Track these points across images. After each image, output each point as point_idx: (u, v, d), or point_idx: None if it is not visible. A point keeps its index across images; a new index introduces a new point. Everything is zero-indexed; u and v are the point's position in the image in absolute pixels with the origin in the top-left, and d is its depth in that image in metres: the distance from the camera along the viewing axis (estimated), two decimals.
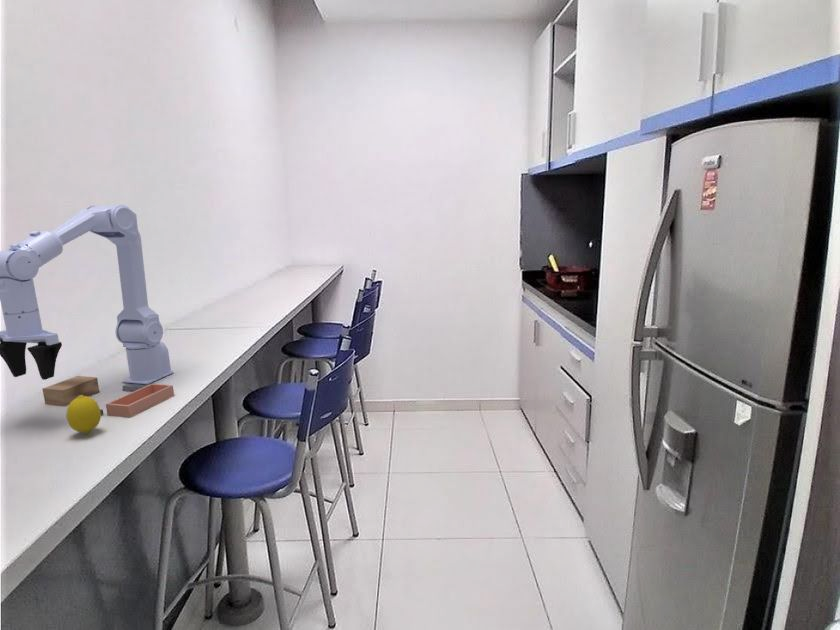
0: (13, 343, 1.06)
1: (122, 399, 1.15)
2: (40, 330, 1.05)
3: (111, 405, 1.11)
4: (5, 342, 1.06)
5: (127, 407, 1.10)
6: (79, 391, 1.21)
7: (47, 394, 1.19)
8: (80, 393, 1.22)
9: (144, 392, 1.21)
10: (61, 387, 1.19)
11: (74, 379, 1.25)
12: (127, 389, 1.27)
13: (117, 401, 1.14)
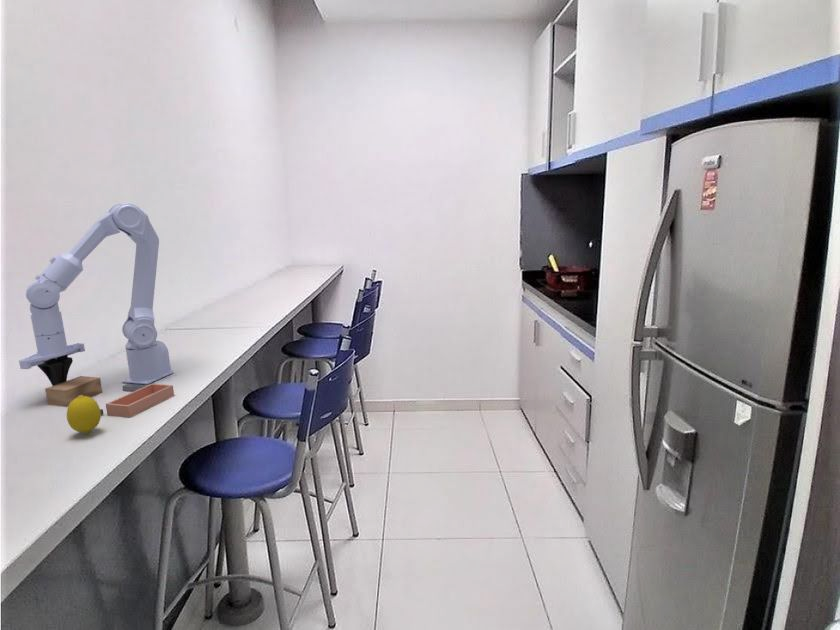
0: None
1: (122, 399, 1.15)
2: (46, 353, 1.19)
3: (111, 405, 1.11)
4: None
5: (127, 407, 1.10)
6: (82, 391, 1.21)
7: (50, 394, 1.19)
8: (83, 393, 1.21)
9: (144, 392, 1.21)
10: (64, 387, 1.19)
11: (77, 379, 1.25)
12: (127, 389, 1.27)
13: (117, 401, 1.14)
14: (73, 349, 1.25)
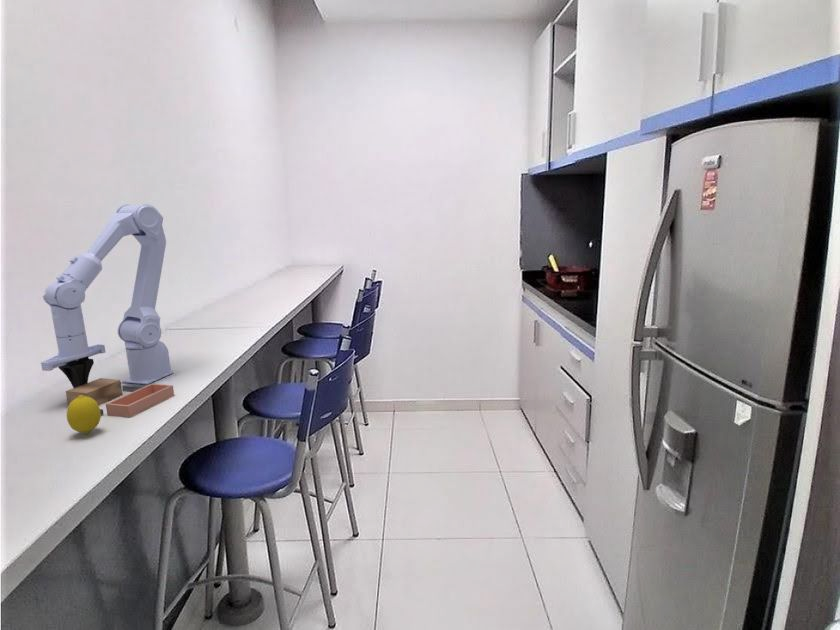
0: None
1: (122, 399, 1.15)
2: (67, 354, 1.17)
3: (111, 405, 1.11)
4: None
5: (127, 407, 1.10)
6: (103, 394, 1.19)
7: (71, 396, 1.17)
8: (103, 396, 1.19)
9: (144, 392, 1.21)
10: (85, 390, 1.17)
11: (97, 381, 1.22)
12: (127, 389, 1.27)
13: (117, 401, 1.14)
14: (94, 350, 1.23)
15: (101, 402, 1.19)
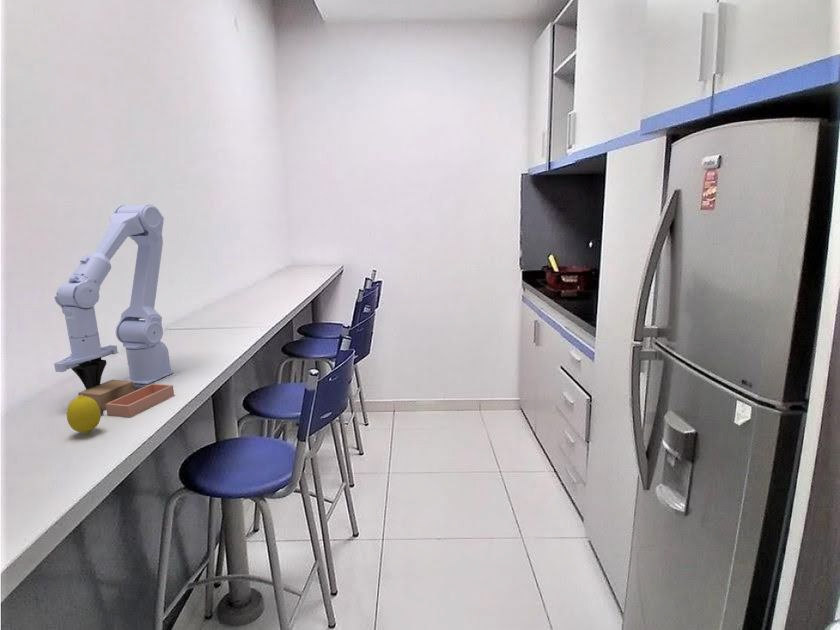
0: None
1: (122, 399, 1.15)
2: (80, 355, 1.16)
3: (111, 405, 1.11)
4: None
5: (127, 407, 1.10)
6: (116, 395, 1.18)
7: None
8: (116, 397, 1.18)
9: (144, 392, 1.21)
10: (97, 391, 1.16)
11: (109, 383, 1.21)
12: None
13: (117, 401, 1.14)
14: (107, 351, 1.22)
15: None
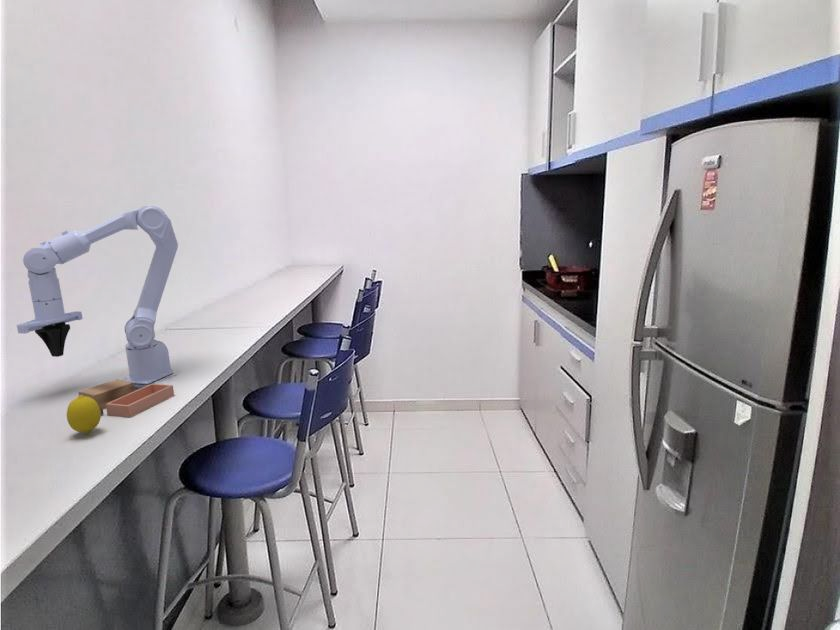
0: (53, 327, 1.23)
1: (122, 399, 1.15)
2: (43, 318, 1.20)
3: (111, 405, 1.11)
4: None
5: (127, 407, 1.10)
6: (113, 396, 1.17)
7: None
8: (113, 398, 1.18)
9: (144, 392, 1.21)
10: (95, 391, 1.16)
11: (112, 383, 1.21)
12: None
13: (117, 401, 1.14)
14: (71, 316, 1.25)
15: None
